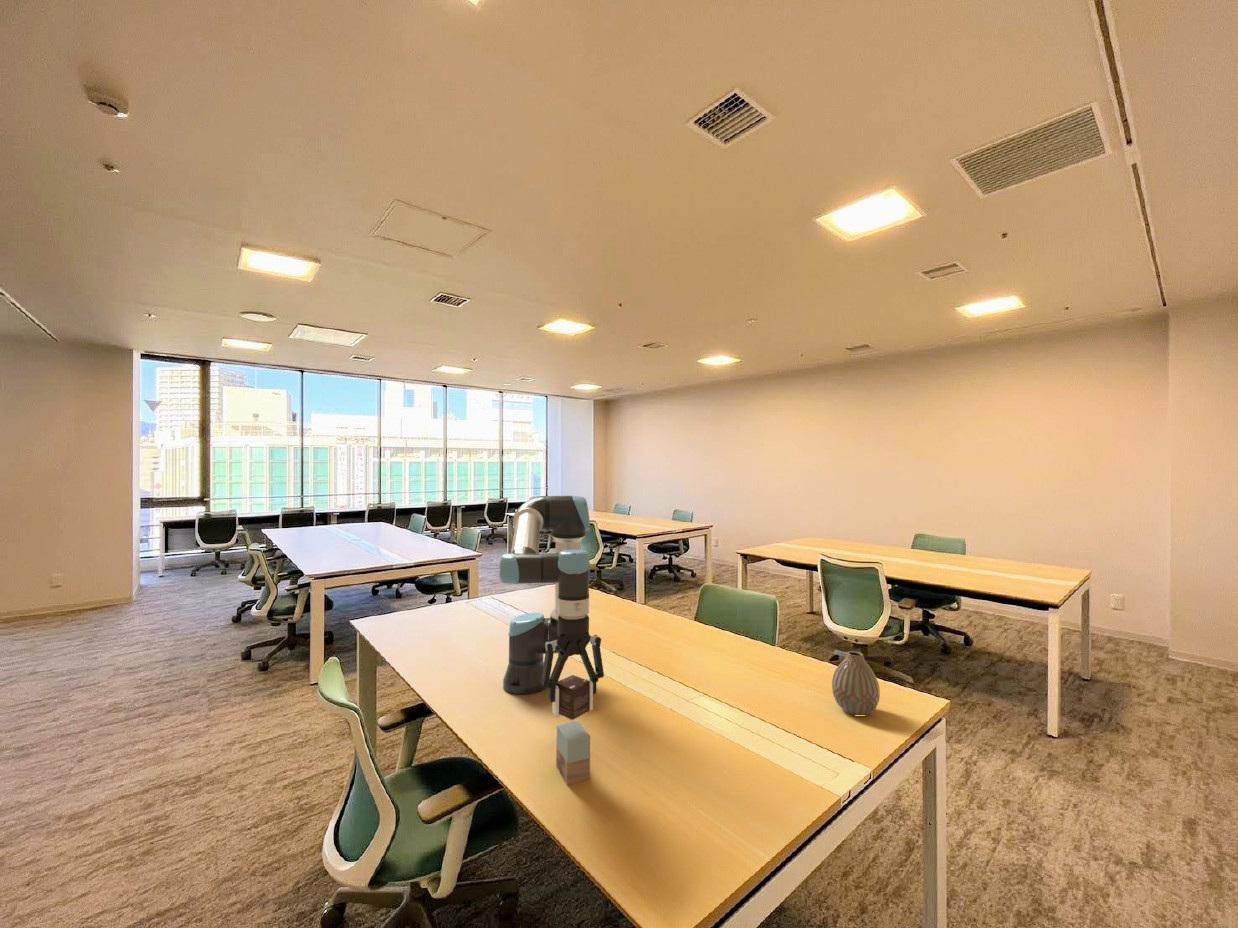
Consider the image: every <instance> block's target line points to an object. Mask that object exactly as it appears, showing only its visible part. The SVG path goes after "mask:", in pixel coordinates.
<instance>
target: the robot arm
mask: <svg viewBox="0 0 1238 928" xmlns="http://www.w3.org/2000/svg"><path fill="white" fill-rule="evenodd" d="M588 506H589V505H588V500H587V499H586V498H585V497H584V496H579V495H539V496H536V497H532V498H530V499H528V500H526V501H525V502H524V503H522V504H521V505H520V506H519V507H518V508H517V509H516V510H515V513H514V516H513V520H512V526H513V529H514V531H513V537H512V543H511V548H510V550H511V551H510V553H507V554H506V553H505V554H503V555H501V557H500V561H499V562H500V563H499V578H500V582H501V583H503V584H513V585H518V584H553V583H554V609H553V610H552V611H550V614H549V615H550V616H549V617H545V615H544V614H543V613H542V612H529V613H524V614H521V615H517V616H515V617H514V618H513V619H512V620H510V623H509V628H508V629H509V630H508V636H509V638H508V664H507V667H506V670H505V673H504V676H503V679H502V686H503V687H502V688H503V690H504V691H506V692H508V693H510V694H514V695H530V694H535V693H538V692H541V691H544V690H545V689H546V688H548V700H549V701H550V703H552V706H551V707H552V711H551V712H552V714H553V715H554V717H555V718H559V716H560V715H559V688H558V687H557V683H558V681H560V678H561V677H560V676H561V675H562V672H563V670H564V667H565V664H566V662H567V660H568V659H569V657H572V656H574V655H575V656H579V655H580V656H579V657H580V658H581V660H582V663H583V664H584V668H585V669H586V673H587V675H588V678H586V679H585V680H588V681H590V702H589V711H594V708H593V707H594V695H596V694H597V683H598V682H599V679H603V678H604V676H605V673H604V666H603V665H604V664H603V660H602V658H603V657H602V651H601V643H602V638H601V637H600V636H599V635H597V634H594V635H590V631H589V630H590V617H589V615H588V614H589V613H590V568H591V563H590V554H589V552H588V551H587V550H583V549H582V540H583V539H584V538H585V537H586V532H588V531H590V530H591V525H590V524H591V523H590V514H589V507H588ZM543 531H545V532H549V531H550V532H551V534H550V536H551V538H552V539H554V541H555V553H554V552H553V553H539V551H540V550H539V549H540V533H541V532H543ZM589 643H590V645H591V649H592V657H593V663H594V666H593V665H592V662H591V660H590V658H589V654H588V652H587V646H588V645H589ZM555 654H557V655H558V656H557V659H556V662H555V664H554V666H553V660H554V655H555ZM552 667H553V670H552Z"/></svg>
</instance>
